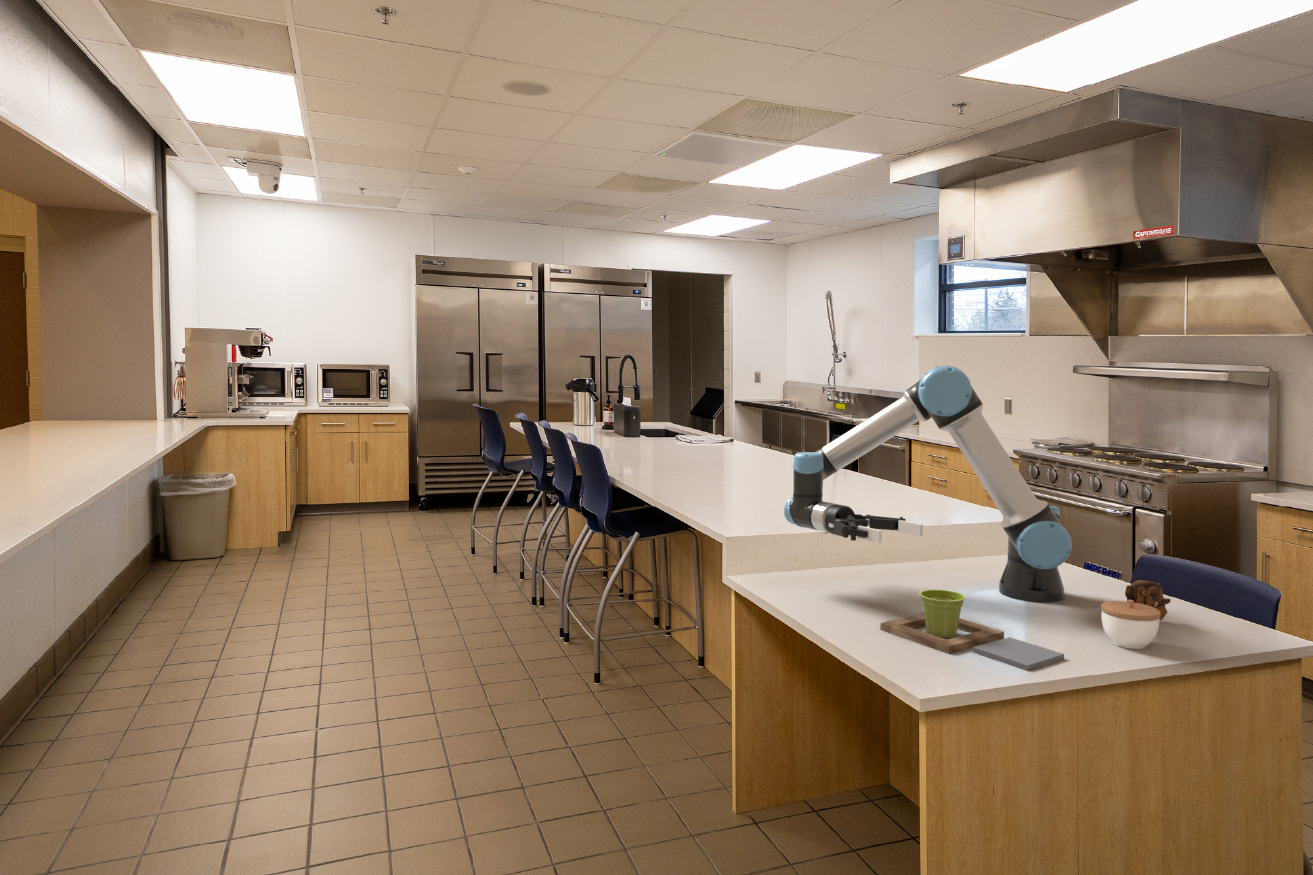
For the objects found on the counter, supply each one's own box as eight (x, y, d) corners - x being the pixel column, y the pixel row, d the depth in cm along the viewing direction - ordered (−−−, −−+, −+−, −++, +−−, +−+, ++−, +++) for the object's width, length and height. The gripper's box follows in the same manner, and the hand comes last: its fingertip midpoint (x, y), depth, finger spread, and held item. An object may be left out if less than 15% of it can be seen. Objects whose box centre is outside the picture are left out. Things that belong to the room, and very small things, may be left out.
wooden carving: (1135, 634, 176) (1137, 589, 175) (1114, 628, 180) (1116, 584, 179) (1174, 622, 185) (1176, 579, 184) (1152, 617, 189) (1155, 574, 188)
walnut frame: (934, 616, 188) (934, 610, 188) (1004, 638, 173) (1004, 631, 173) (880, 629, 179) (880, 622, 179) (948, 653, 164) (948, 646, 164)
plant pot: (911, 627, 180) (912, 589, 180) (952, 626, 181) (953, 588, 180) (929, 641, 171) (930, 601, 170) (972, 640, 172) (973, 600, 171)
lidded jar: (1170, 653, 164) (1172, 607, 164) (1117, 653, 165) (1119, 607, 164) (1139, 636, 175) (1141, 593, 174) (1089, 635, 175) (1091, 593, 174)
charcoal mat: (1009, 641, 171) (1009, 637, 171) (1063, 658, 161) (1064, 653, 161) (972, 652, 165) (973, 647, 165) (1027, 670, 155) (1027, 665, 154)
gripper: (869, 528, 209) (937, 543, 191) (796, 539, 196) (861, 556, 178) (870, 500, 209) (938, 512, 191) (796, 508, 195) (862, 522, 177)
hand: (901, 533), depth 184 cm, fingers open, 13 cm apart
